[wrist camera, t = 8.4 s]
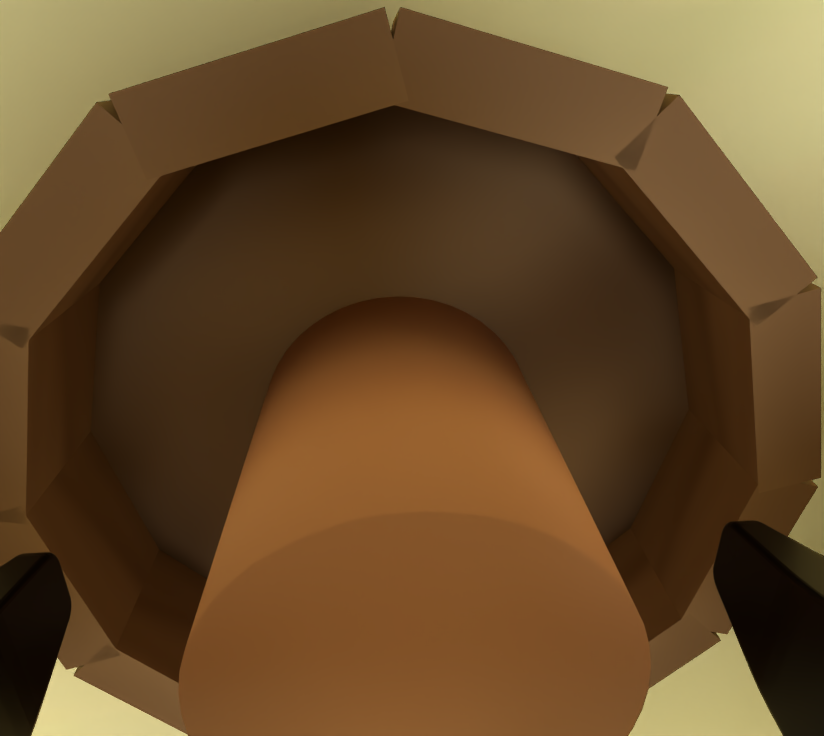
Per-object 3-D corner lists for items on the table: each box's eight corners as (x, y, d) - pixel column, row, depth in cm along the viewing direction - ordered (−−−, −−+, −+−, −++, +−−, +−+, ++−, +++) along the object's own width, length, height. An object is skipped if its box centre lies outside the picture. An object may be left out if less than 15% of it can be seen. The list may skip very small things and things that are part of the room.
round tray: (841, 388, 13) (967, 475, 10) (402, 717, 17) (408, 848, 14) (381, -181, 9) (386, -291, 6) (-84, 422, 12) (-216, 526, 10)
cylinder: (537, 293, 11) (689, 500, 6) (519, 521, 14) (618, 827, 8) (250, 300, 11) (135, 523, 6) (278, 531, 13) (214, 853, 8)
